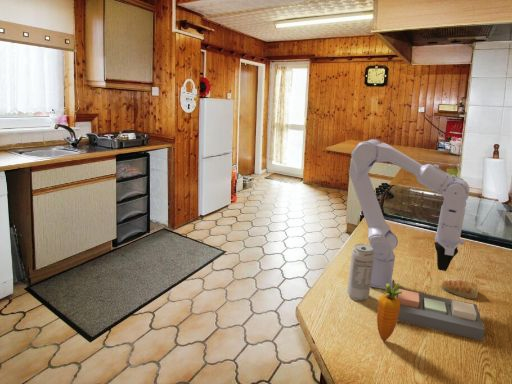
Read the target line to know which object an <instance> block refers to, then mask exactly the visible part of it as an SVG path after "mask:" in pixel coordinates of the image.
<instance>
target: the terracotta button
mask: <svg viewBox="0 0 512 384" xmlns="http://www.w3.org/2000/svg"><path fill="white" fill-rule="evenodd" d="M402 289H403V288H400V289H399V291H402V293H400V294H398V299H399V300H400V304H401V305H406V306H410V307H415V308H418V307H419V293H420V292H419V293H416V292H417V291H414V292H411V291H412V290H409V291H407V290H408V289H405V290H402Z"/></svg>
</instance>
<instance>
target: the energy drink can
mask: <svg viewBox="0 0 512 384" xmlns="http://www.w3.org/2000/svg"><path fill="white" fill-rule="evenodd" d="M373 261H374V253H373V248H372V247H371V246H370V244H364V243H357V244H355V245H354V247H353V249H352V250H351V255H350V265H349V273H348V283H347V290H346V291H347V294H348V295H349V296H348V297H349V298H350V299H352V300H355V301H360V302H361V301H366V300H367V298H369V295H370V290H371V289H370V288H371V286H370V284H371V276H372V269H373Z"/></svg>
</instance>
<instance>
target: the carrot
mask: <svg viewBox="0 0 512 384" xmlns="http://www.w3.org/2000/svg"><path fill="white" fill-rule="evenodd" d="M393 287H394V290H393V291H392V290H391V288H390V285H389V284H386V289H385V292H386V293H385V294H382V295H379V297H378V303H377V313H376V314H377V315H376V323H377V325H376V326H377V330H378V335H379V337H380V339H381V340H382V341H383V342H386V341H387V340H388V339H389V338H390V337H391V336H392V335H393V332H394V331H395V329H396V325H397V323H398V321H397V320H398V315H399V310H400V300H399V299H398V298H396V297H395V296H396V295H397V294H400V293H402V291H396V290H397V288H399V287H400V283H396V284H395V286H393Z"/></svg>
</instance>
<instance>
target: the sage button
mask: <svg viewBox="0 0 512 384" xmlns="http://www.w3.org/2000/svg"><path fill="white" fill-rule="evenodd" d="M423 309H424V310H428V311H433V312H437V313H442V314H446V312H447V311H446V306H445V302H442V301H437V300H433V299H428V298H424V301H423Z"/></svg>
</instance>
